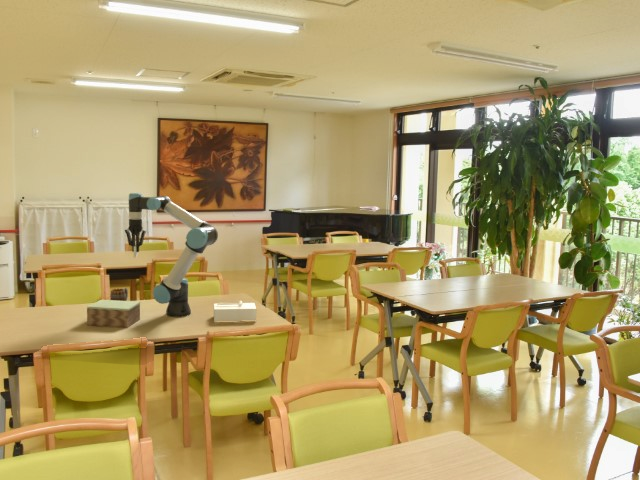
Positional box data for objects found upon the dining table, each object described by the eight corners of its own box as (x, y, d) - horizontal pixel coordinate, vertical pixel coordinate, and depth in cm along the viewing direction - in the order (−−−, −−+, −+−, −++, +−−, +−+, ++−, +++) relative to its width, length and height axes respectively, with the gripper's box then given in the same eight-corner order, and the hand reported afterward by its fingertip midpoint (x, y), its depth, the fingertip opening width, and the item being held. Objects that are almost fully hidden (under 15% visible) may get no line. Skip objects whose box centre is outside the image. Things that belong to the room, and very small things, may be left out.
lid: (140, 303, 351) (140, 301, 351) (128, 310, 334) (128, 308, 334) (101, 301, 353) (101, 299, 353) (87, 308, 336) (87, 306, 336)
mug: (121, 316, 359) (121, 292, 357) (105, 315, 361) (105, 291, 359) (134, 310, 374) (134, 287, 372) (119, 309, 376) (119, 286, 374)
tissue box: (256, 322, 356) (256, 304, 354) (214, 323, 351) (214, 305, 349) (254, 316, 370) (254, 299, 368) (213, 317, 365) (213, 299, 363)
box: (140, 319, 353) (139, 303, 351) (127, 327, 335) (127, 310, 334) (101, 317, 355) (101, 301, 354) (87, 325, 337) (86, 308, 336)
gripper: (148, 218, 357) (148, 256, 361) (127, 217, 359) (128, 255, 362) (143, 219, 350) (143, 258, 353) (122, 218, 351) (122, 257, 354)
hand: (135, 257), depth 357 cm, fingers closed
